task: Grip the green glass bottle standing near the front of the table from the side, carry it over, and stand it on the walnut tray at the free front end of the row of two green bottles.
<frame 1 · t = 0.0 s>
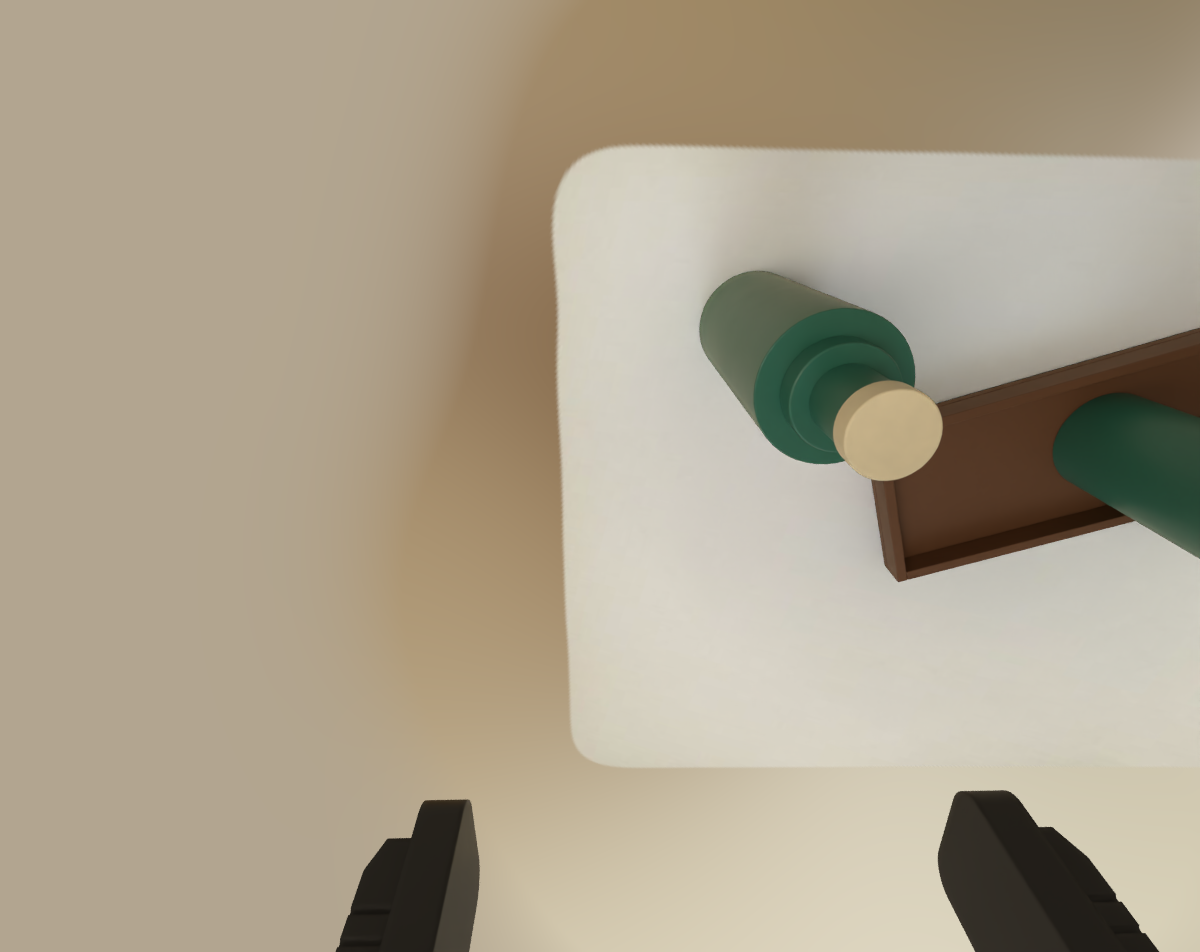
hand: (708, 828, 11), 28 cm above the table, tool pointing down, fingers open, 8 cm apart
tray: (1097, 437, 38), on the table
green bottle: (752, 326, 35), on the table
row bottle middle: (1103, 440, 37), resting on tray
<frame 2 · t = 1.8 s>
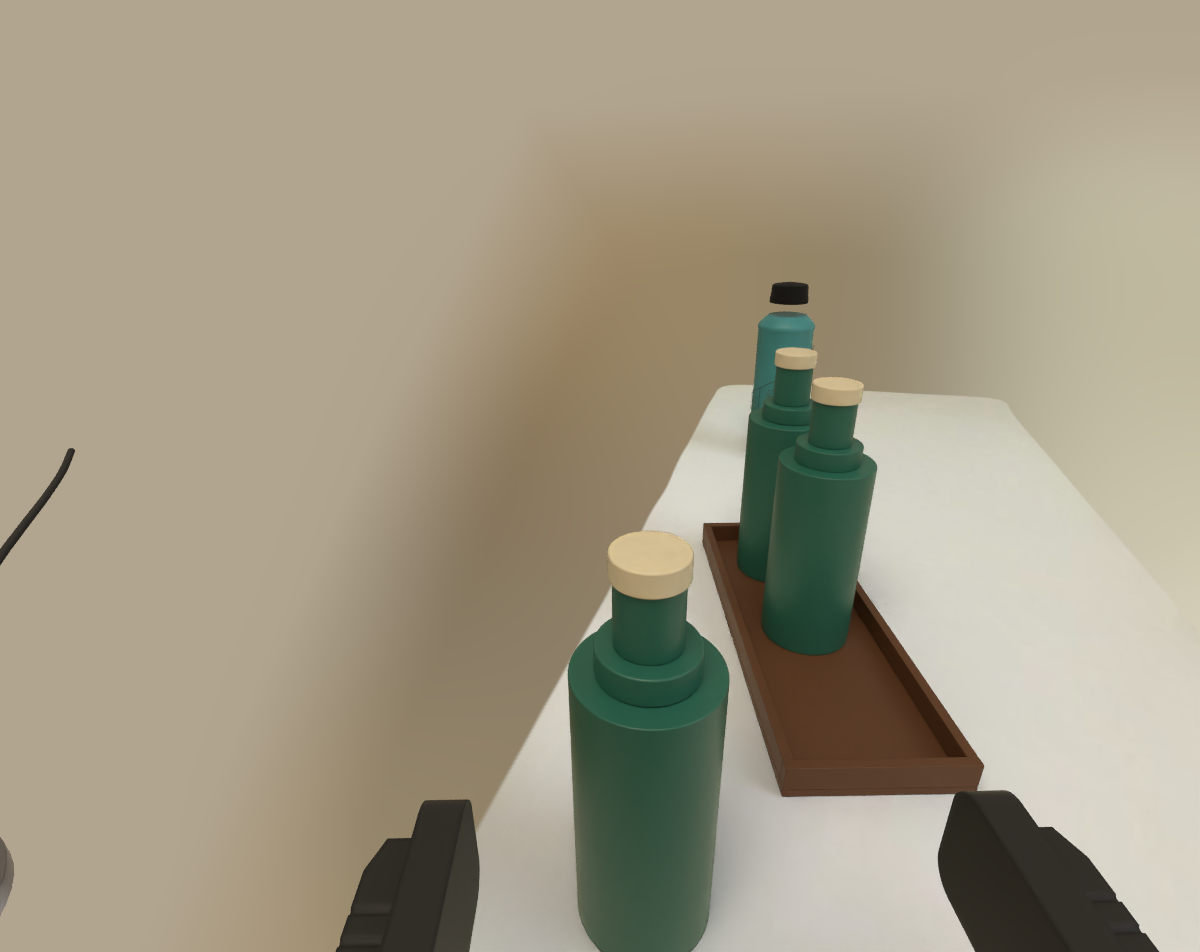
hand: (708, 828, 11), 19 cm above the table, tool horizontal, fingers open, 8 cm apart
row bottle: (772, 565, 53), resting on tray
beverage bottle: (773, 452, 78), on the table
tray: (802, 634, 45), on the table
green bottle: (643, 896, 28), on the table
row bottle middle: (803, 628, 45), resting on tray
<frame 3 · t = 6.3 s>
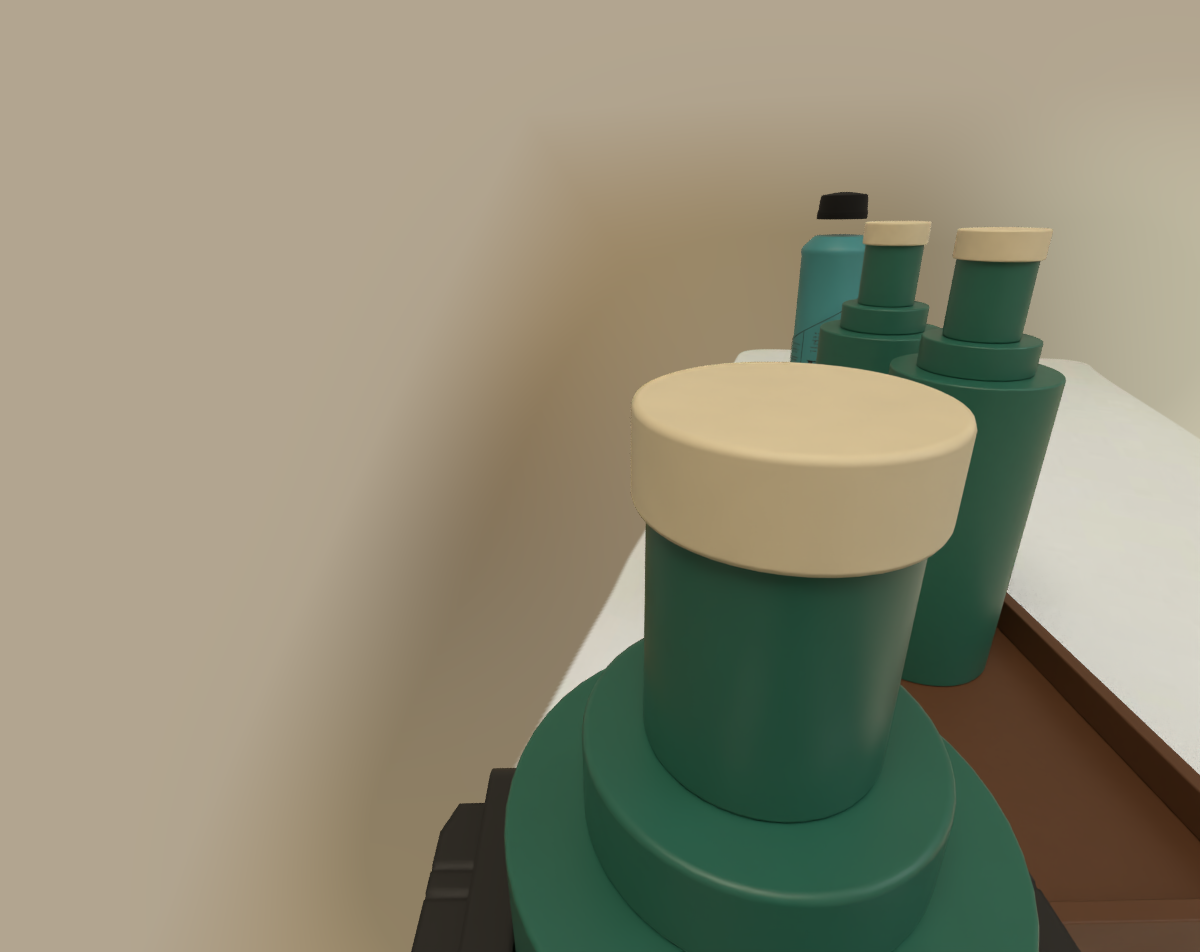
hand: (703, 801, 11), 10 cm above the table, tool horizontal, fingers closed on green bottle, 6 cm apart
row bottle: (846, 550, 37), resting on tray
beverage bottle: (817, 417, 62), on the table
tray: (911, 651, 30), on the table
row bottle middle: (913, 642, 29), resting on tray
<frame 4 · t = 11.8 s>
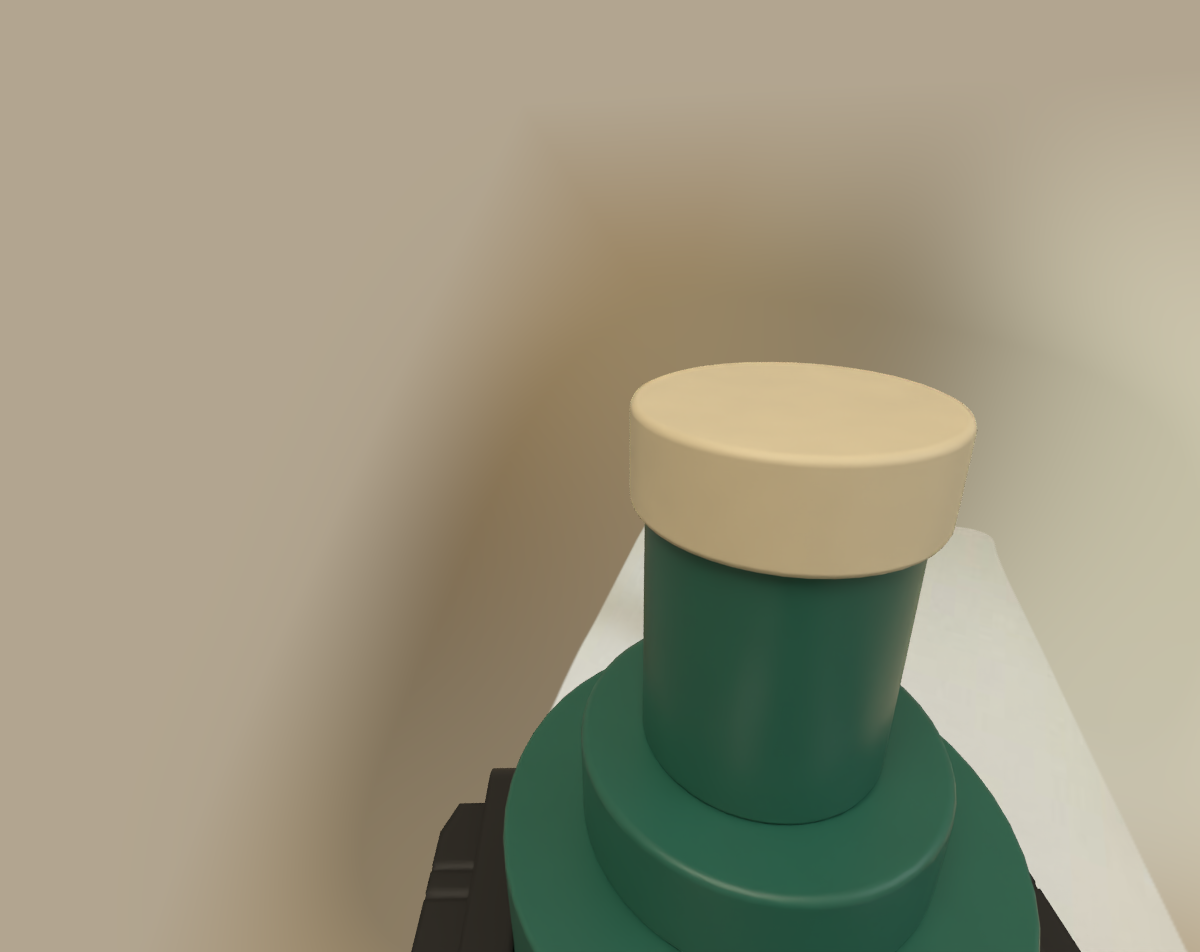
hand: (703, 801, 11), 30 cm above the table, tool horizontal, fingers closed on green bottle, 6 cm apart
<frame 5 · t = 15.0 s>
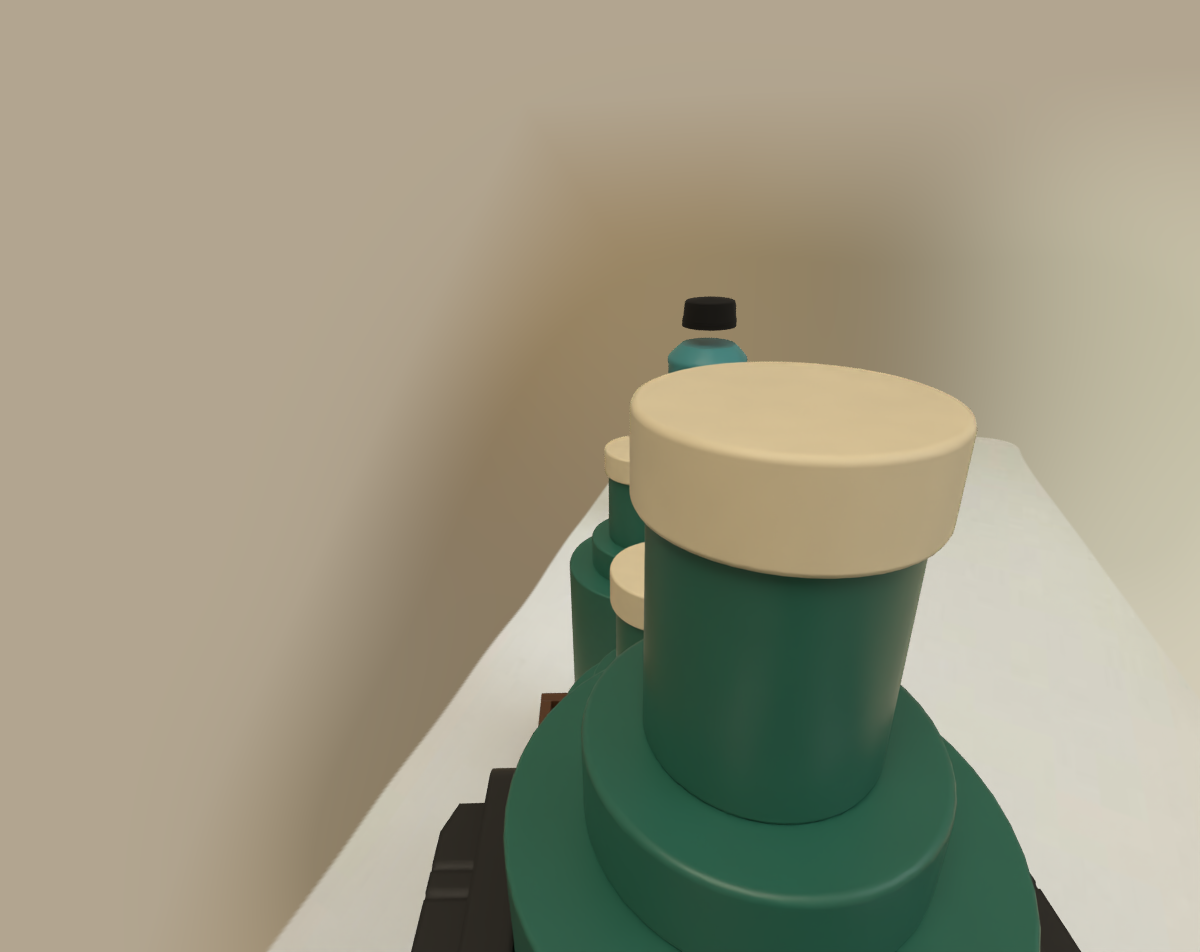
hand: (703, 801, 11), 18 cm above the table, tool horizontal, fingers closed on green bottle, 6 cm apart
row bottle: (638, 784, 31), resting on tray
beverage bottle: (698, 531, 56), on the table
when the fingers open (11 cm above the table, at t = 17.5 s): green bottle stays where it is, resting on tray.
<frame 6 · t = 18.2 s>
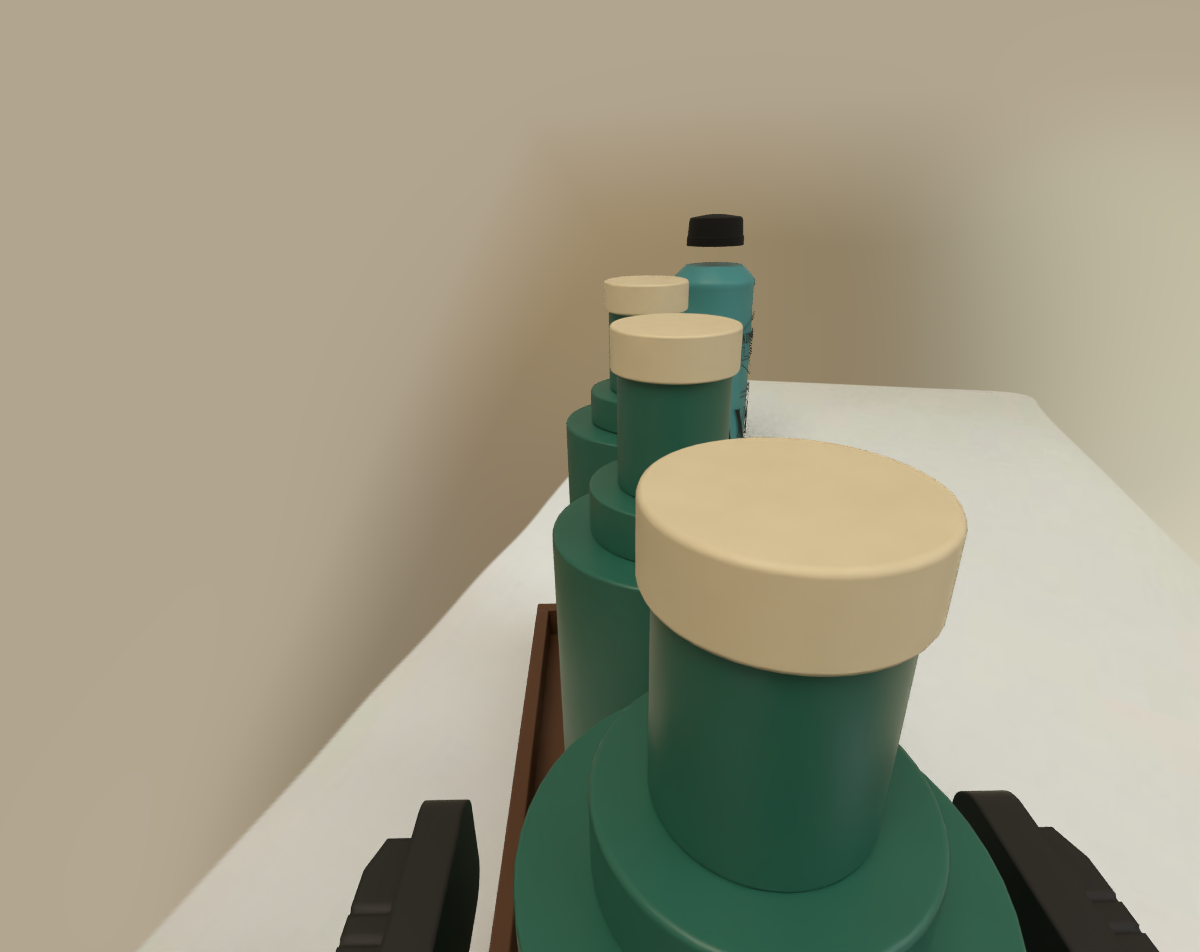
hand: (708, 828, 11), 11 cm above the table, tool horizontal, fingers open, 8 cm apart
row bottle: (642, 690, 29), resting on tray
beverage bottle: (703, 471, 54), on the table
tray: (660, 882, 21), on the table
row bottle middle: (660, 872, 21), resting on tray
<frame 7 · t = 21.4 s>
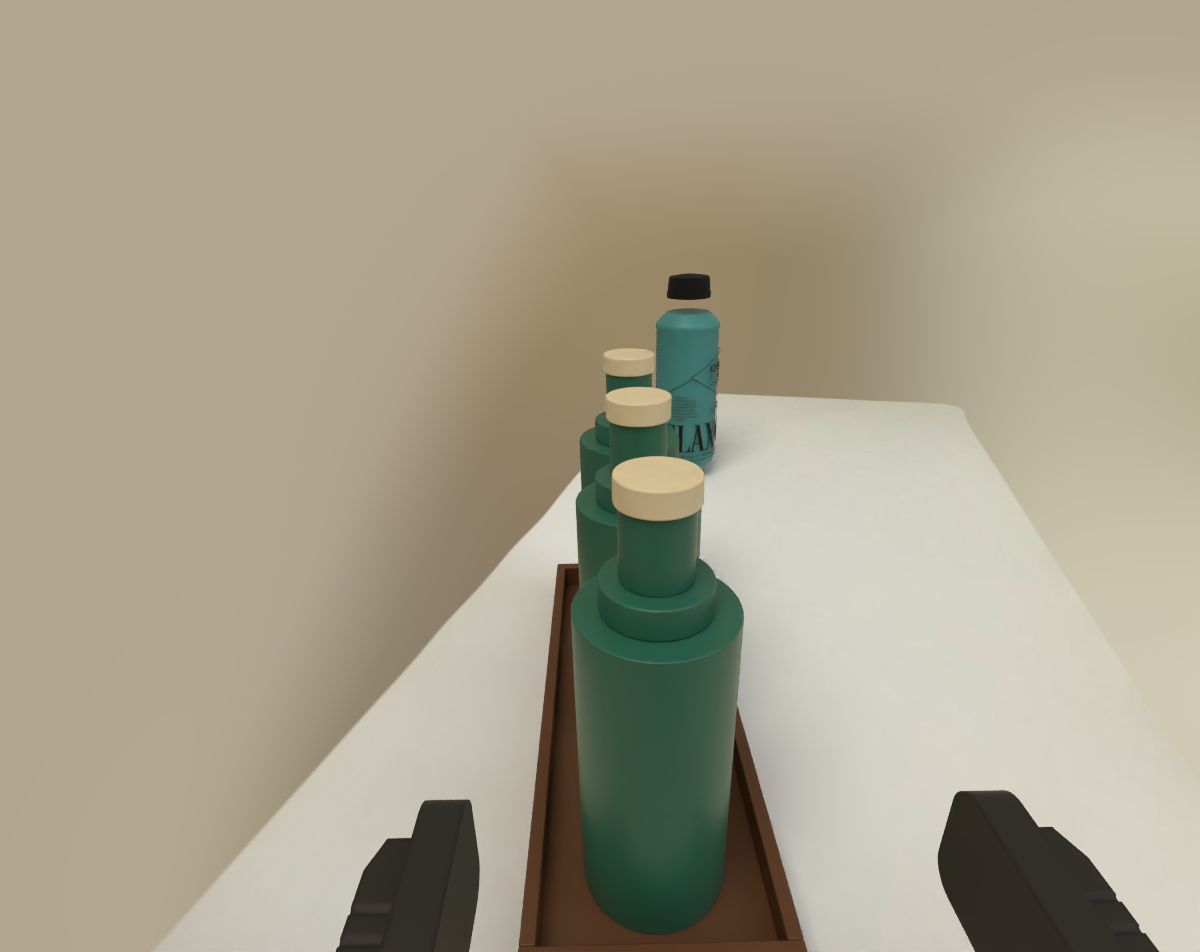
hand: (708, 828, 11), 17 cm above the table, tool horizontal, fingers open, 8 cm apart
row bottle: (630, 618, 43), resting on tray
beverage bottle: (683, 471, 68), on the table
tray: (638, 718, 35), on the table
green bottle: (652, 861, 27), resting on tray
row bottle middle: (638, 711, 35), resting on tray
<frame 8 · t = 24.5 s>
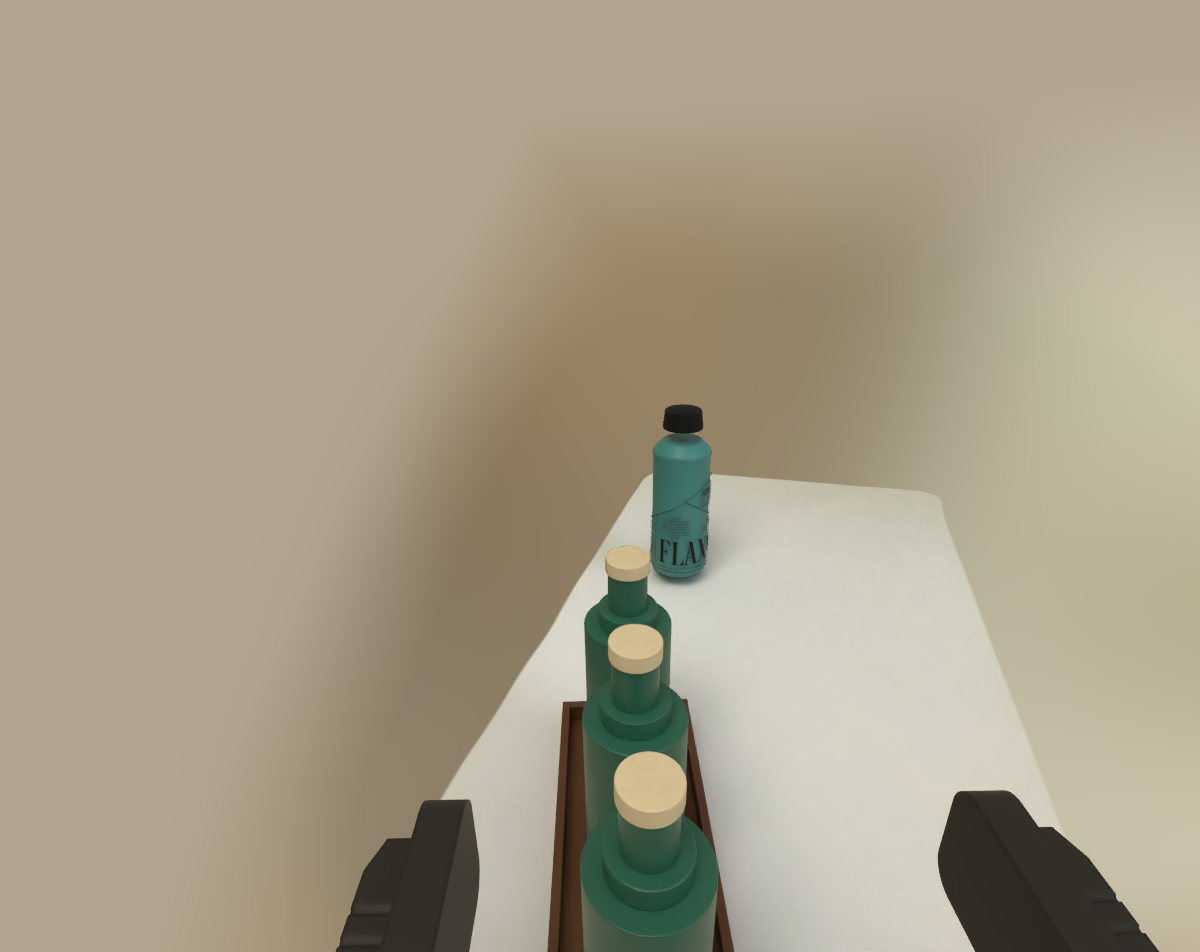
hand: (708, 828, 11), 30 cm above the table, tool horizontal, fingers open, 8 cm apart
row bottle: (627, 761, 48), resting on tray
beverage bottle: (677, 575, 73), on the table
tray: (634, 875, 40), on the table
row bottle middle: (634, 869, 40), resting on tray
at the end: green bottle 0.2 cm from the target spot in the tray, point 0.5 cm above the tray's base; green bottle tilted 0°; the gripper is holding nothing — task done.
